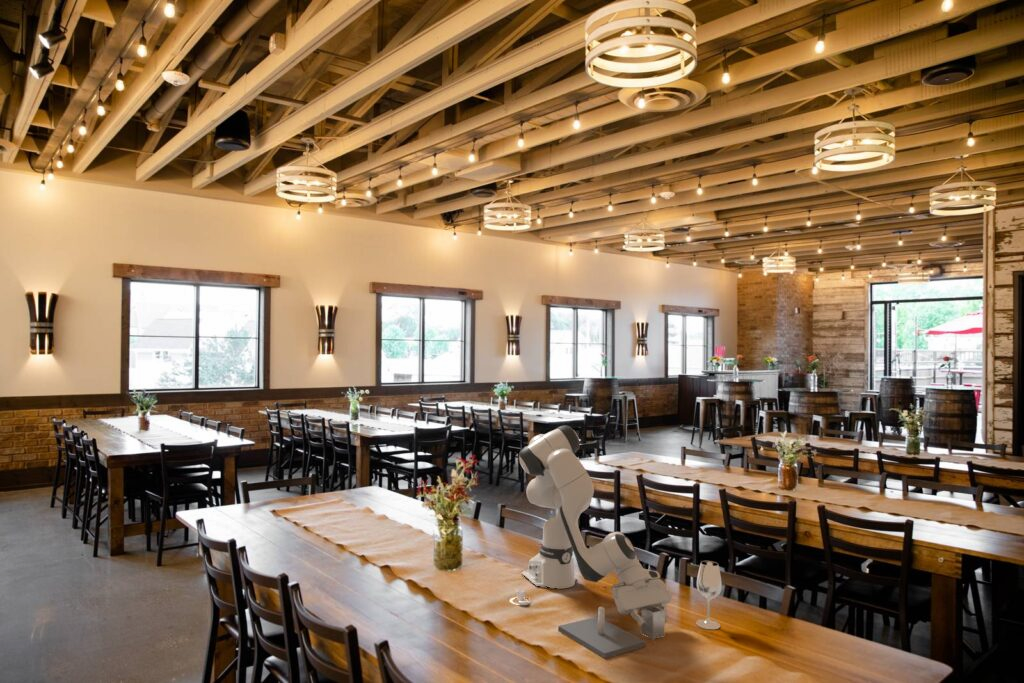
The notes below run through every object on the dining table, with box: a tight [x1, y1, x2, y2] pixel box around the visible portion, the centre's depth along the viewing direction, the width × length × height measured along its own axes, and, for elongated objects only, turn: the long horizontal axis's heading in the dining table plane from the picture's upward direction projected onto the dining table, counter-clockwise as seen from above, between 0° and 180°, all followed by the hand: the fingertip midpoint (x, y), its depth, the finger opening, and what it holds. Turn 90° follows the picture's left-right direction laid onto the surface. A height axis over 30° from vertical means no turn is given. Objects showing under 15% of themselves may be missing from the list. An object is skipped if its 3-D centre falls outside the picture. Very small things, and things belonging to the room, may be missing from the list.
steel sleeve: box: [640, 605, 666, 640], centre depth 209 cm, size 5×5×8 cm
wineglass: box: [695, 560, 723, 630], centre depth 219 cm, size 8×8×20 cm
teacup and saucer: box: [509, 588, 530, 606], centre depth 234 cm, size 9×8×4 cm
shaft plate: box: [557, 606, 646, 659], centre depth 205 cm, size 22×16×10 cm
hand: (654, 621), depth 209 cm, fingers open, 8 cm apart
